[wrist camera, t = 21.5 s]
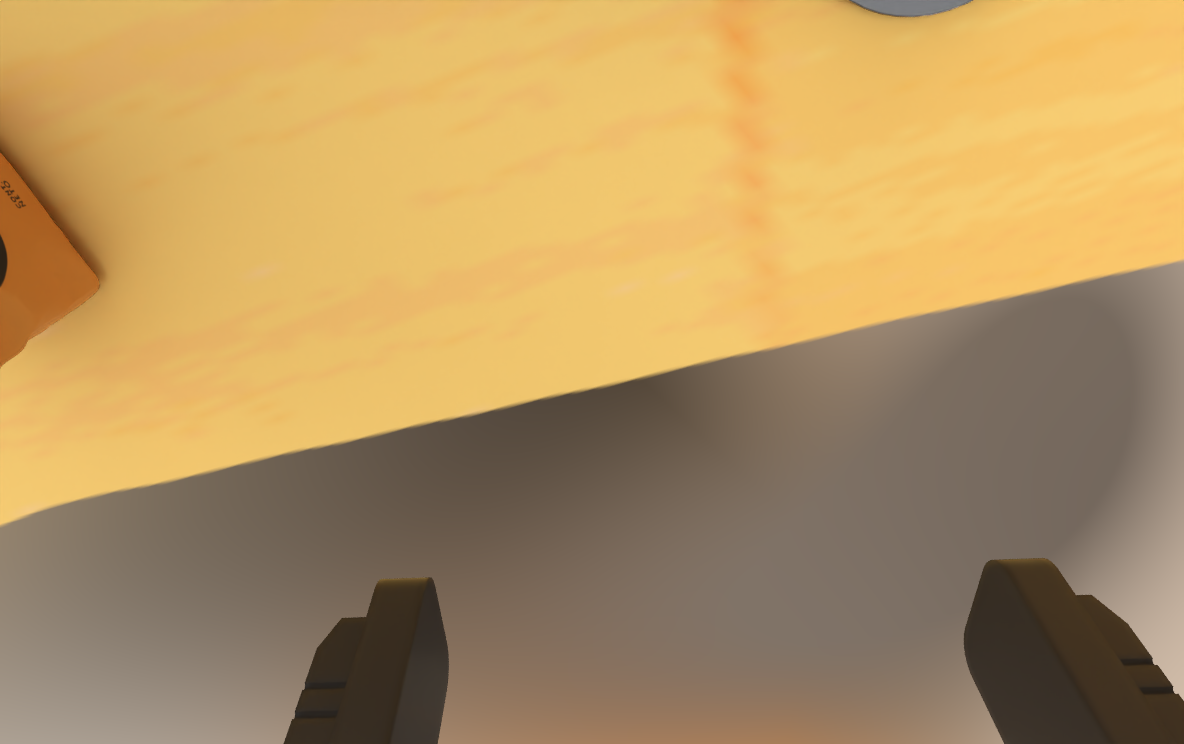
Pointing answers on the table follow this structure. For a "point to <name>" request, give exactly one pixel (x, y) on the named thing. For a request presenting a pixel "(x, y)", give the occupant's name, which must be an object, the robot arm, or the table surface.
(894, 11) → the coaster
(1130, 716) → the robot arm
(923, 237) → the table surface
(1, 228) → the coffee package
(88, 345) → the table surface
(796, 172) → the table surface
